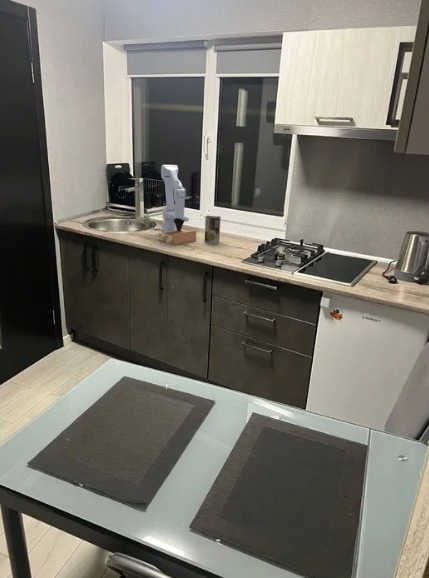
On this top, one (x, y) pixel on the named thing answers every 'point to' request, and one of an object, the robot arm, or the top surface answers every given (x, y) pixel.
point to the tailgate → (184, 237)
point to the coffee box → (212, 229)
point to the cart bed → (168, 236)
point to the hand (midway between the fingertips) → (178, 230)
